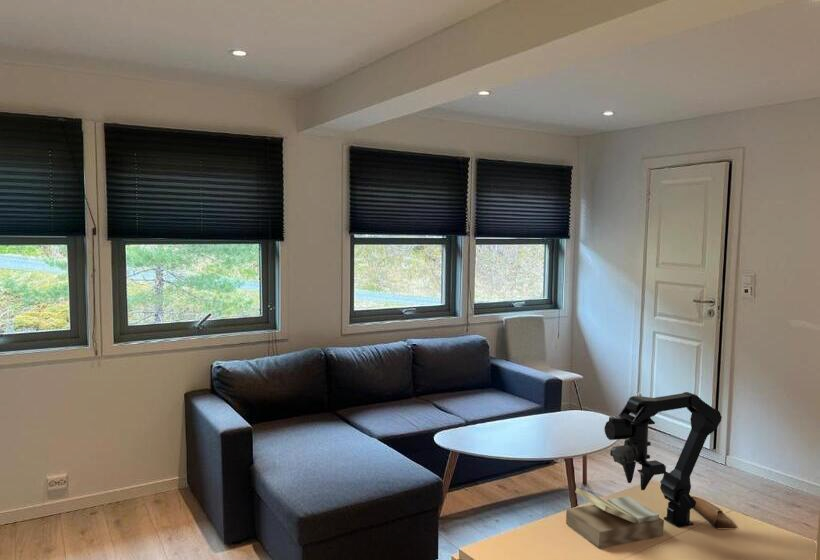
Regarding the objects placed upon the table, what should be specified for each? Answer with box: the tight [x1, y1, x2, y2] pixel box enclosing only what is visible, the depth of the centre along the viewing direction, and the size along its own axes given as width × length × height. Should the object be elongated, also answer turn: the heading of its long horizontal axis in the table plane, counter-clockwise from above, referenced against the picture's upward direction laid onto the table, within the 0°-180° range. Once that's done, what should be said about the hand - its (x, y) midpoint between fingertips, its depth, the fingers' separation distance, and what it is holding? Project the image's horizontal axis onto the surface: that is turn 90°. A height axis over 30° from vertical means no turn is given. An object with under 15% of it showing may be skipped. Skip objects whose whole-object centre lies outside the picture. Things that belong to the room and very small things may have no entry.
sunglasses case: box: [691, 495, 739, 529], centre depth 196 cm, size 18×7×7 cm, turn 2°
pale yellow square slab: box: [574, 487, 637, 523], centre depth 183 cm, size 13×14×2 cm
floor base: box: [565, 496, 665, 550], centre depth 185 cm, size 24×16×6 cm, turn 111°
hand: (636, 486), depth 187 cm, fingers open, 6 cm apart
